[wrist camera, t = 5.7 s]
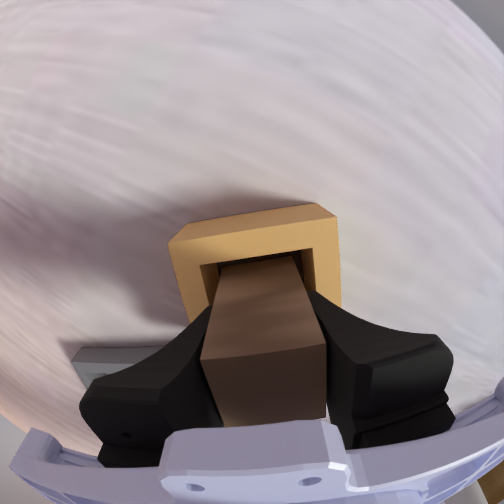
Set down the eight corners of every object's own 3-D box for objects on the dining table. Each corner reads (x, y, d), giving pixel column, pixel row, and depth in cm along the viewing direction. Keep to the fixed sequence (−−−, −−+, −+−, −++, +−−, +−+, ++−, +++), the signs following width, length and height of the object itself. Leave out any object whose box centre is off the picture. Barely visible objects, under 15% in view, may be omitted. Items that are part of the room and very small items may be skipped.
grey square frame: (234, 339, 18) (232, 358, 16) (261, 440, 22) (261, 457, 20) (81, 347, 19) (70, 361, 17) (140, 439, 23) (135, 453, 21)
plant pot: (454, 463, 30) (478, 517, 15) (509, 421, 28) (539, 467, 13) (452, 478, 34) (470, 521, 19) (499, 443, 32) (522, 483, 17)
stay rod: (291, 255, 14) (326, 342, 7) (298, 315, 15) (325, 417, 8) (222, 266, 14) (199, 359, 7) (235, 324, 15) (226, 429, 8)
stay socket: (316, 202, 15) (336, 217, 12) (325, 315, 18) (341, 353, 14) (187, 223, 16) (167, 243, 12) (214, 332, 18) (206, 372, 14)
